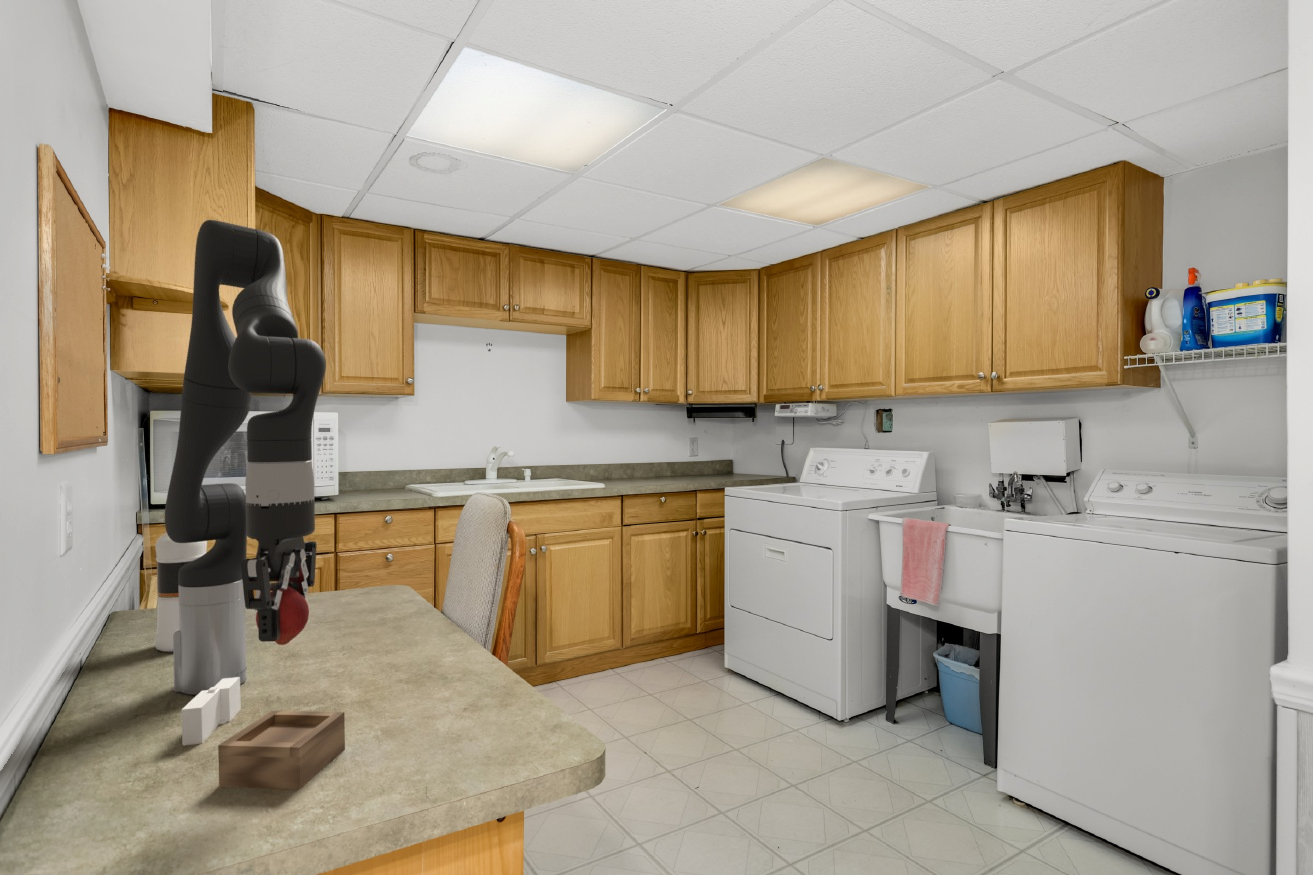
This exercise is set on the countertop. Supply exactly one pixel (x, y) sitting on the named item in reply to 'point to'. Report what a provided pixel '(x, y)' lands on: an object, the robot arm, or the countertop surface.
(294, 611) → the onion
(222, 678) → the robot arm
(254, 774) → the wooden box
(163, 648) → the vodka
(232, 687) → the white notched block
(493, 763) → the countertop surface
